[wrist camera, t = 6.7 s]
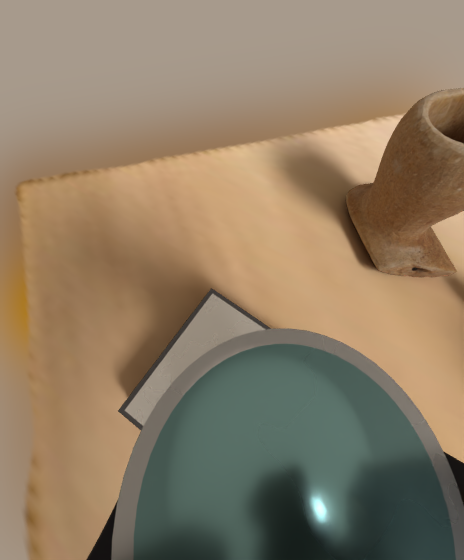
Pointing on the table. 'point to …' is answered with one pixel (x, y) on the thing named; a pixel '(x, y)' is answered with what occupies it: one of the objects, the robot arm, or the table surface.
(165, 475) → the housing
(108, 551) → the robot arm
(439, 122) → the stone cup
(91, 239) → the table surface
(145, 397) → the stand
